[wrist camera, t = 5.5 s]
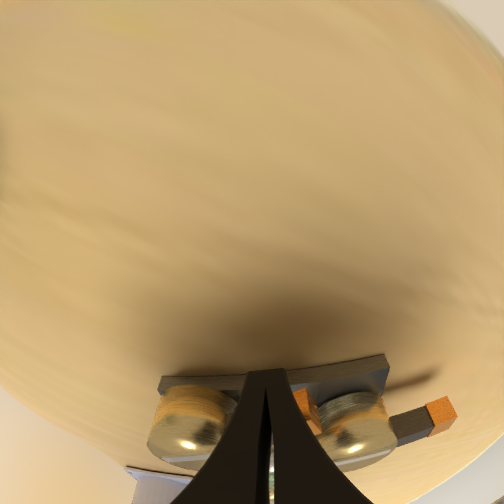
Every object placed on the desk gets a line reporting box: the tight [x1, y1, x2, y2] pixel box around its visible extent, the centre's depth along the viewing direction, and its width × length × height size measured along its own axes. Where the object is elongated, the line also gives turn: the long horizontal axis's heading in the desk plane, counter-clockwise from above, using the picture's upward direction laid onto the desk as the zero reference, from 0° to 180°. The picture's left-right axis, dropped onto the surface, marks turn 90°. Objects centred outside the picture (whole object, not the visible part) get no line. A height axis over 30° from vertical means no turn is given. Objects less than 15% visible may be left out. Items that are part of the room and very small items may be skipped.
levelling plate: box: [157, 354, 390, 488], centre depth 14 cm, size 14×12×4 cm
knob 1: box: [147, 385, 322, 471], centre depth 11 cm, size 8×4×3 cm, turn 119°
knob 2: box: [315, 392, 457, 472], centre depth 12 cm, size 8×4×3 cm, turn 98°
